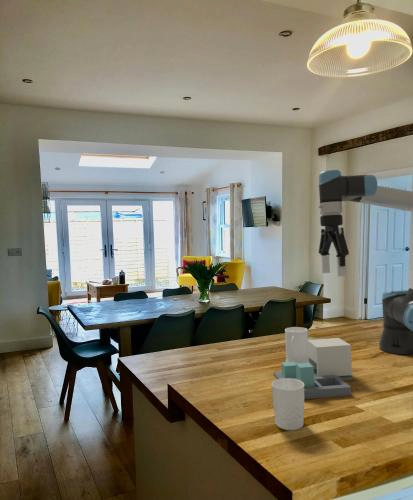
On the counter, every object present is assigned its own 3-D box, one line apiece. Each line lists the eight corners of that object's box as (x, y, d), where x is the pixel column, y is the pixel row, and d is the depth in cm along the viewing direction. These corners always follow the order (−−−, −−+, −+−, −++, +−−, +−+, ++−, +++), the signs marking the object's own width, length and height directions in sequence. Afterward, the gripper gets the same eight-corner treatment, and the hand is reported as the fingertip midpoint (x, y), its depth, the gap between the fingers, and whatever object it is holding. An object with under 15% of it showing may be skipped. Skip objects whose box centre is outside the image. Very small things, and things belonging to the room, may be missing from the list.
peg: (309, 388, 117) (308, 362, 117) (314, 394, 114) (313, 366, 113) (296, 389, 117) (295, 363, 117) (301, 395, 113) (300, 367, 113)
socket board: (336, 382, 121) (336, 374, 121) (351, 395, 111) (350, 386, 111) (286, 386, 120) (285, 378, 120) (296, 399, 110) (296, 391, 110)
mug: (302, 369, 134) (301, 335, 134) (279, 366, 139) (277, 333, 139) (312, 360, 144) (311, 327, 144) (290, 357, 149) (289, 326, 149)
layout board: (339, 369, 133) (339, 355, 133) (353, 380, 123) (352, 364, 123) (273, 374, 131) (272, 360, 131) (281, 385, 121) (281, 369, 121)
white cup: (269, 418, 100) (268, 379, 99) (299, 415, 100) (298, 377, 100) (278, 433, 92) (276, 391, 92) (310, 430, 92) (309, 388, 92)
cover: (339, 366, 132) (338, 337, 132) (352, 375, 123) (350, 344, 123) (308, 368, 131) (307, 340, 131) (318, 377, 122) (316, 347, 122)
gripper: (308, 217, 151) (310, 272, 151) (335, 212, 126) (338, 278, 126) (327, 216, 151) (329, 271, 152) (357, 211, 127) (360, 276, 127)
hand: (333, 274), depth 139 cm, fingers open, 13 cm apart
